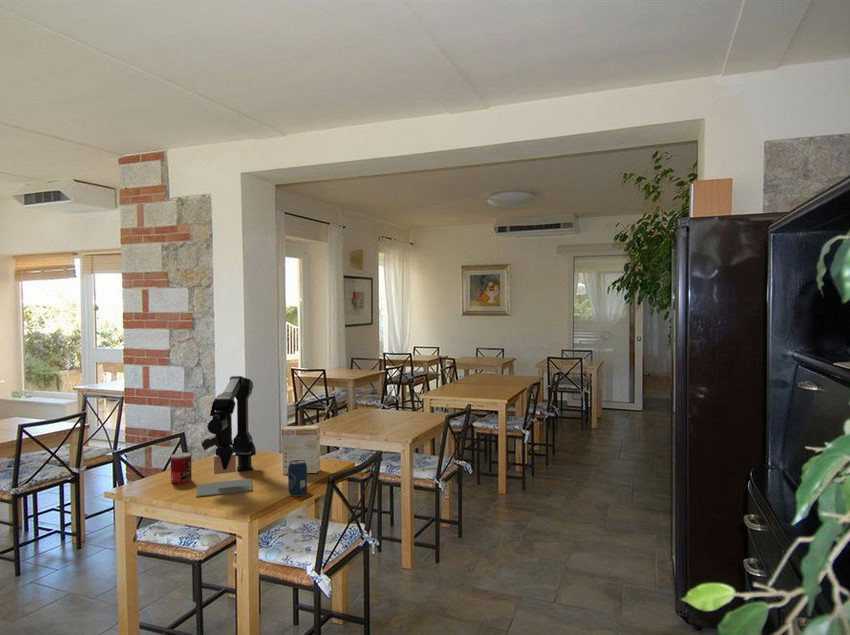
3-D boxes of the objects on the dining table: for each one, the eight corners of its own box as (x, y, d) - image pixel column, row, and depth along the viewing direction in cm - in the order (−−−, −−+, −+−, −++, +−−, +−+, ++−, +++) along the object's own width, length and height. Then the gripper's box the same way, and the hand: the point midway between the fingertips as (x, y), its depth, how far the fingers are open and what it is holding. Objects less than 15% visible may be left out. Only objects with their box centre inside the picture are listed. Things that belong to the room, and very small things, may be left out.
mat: (198, 485, 224) (198, 484, 224) (251, 480, 230) (251, 478, 230) (196, 497, 208) (196, 495, 208) (252, 491, 215) (252, 489, 215)
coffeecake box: (321, 469, 244) (320, 425, 244) (317, 474, 237) (316, 428, 237) (286, 470, 245) (286, 425, 245) (282, 474, 237) (281, 428, 237)
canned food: (184, 484, 225) (183, 457, 225) (166, 483, 227) (166, 456, 227) (195, 479, 233) (195, 452, 233) (178, 478, 234) (178, 452, 234)
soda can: (285, 493, 211) (284, 462, 211) (301, 489, 216) (300, 458, 216) (294, 498, 206) (294, 465, 206) (311, 493, 211) (310, 461, 211)
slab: (214, 472, 221) (214, 454, 221) (235, 470, 224) (235, 452, 224) (214, 474, 219) (213, 456, 219) (235, 472, 221) (235, 454, 221)
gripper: (203, 426, 227) (204, 464, 228) (201, 435, 210) (201, 476, 210) (232, 424, 231) (233, 461, 231) (232, 432, 213) (233, 473, 214)
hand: (224, 468), depth 221 cm, fingers closed on slab, 3 cm apart
